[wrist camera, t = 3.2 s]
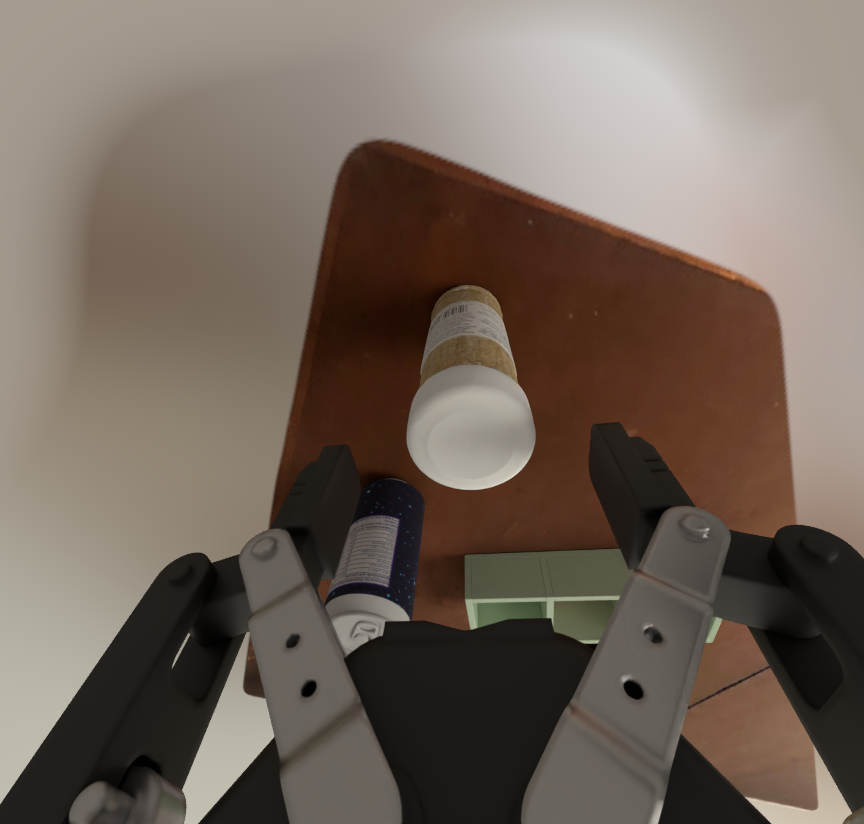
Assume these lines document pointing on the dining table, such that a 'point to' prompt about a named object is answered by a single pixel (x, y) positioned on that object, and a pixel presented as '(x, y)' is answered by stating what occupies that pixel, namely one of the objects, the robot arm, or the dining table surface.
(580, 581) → the tray
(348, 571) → the beverage can
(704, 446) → the dining table surface
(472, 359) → the spice jar
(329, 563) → the robot arm
